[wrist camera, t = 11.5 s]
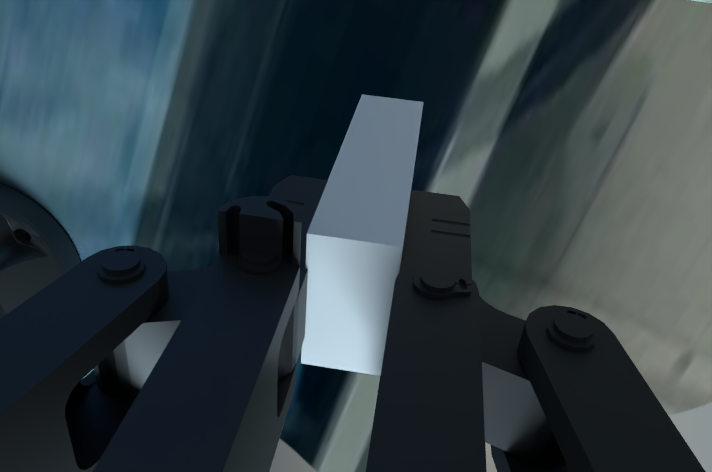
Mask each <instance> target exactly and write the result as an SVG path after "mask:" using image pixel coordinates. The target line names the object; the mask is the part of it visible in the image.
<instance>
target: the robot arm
mask: <svg viewBox="0 0 712 472" xmlns="http://www.w3.org/2000/svg"><path fill="white" fill-rule="evenodd" d="M422 108H423V102H418V101H410V100H402V99H394V98H385V97H377V96H369V95H362V96H361V99H360V101H359V104H358V106H357V109H356V111H355V114H354V116H353V119H352V121H351V124H350V126H349V129H348V131H347V134H346V136H345V139H344V141H343V144H342V146H341V149H340V151H339V154H338V156H337V159H336V161H335V164H334V166H333V169H332V171H331V174H330V177H329V179H328V180H321V179H314V178H307V177H299V176H292V175H291V176H289V177H287V178H286V179H284V180H283V181H281V182H279V183H278V184H276V185H275V186H274V188H273V190H272V192H271V193H270V195H269V197H266V196H251V197H245V198H239V199H236V200H234V201H231V202H229V203H226V204H225V205H224V206H223V207H222V208H220V209H219V210H218V228H219V250H220V255H219V257H218V259H217V261H216V262H215V264H214V266H211V267H208V268H202V269H194V270H178V271H167V265H166V261H165V260H164V258H163V257H162V255H161V254H160V253H158V252H156V251H154V250H152V249H150V248H145V247H139V246H117V247H113V248H109V249H105V250H101V251H99V252H97V253H95V254H93V255H91V256H89V257H88V258H86V259H85V260H83V261H82V262H80V259H79V256H78V254H77V252H76V250H75V248H74V246H73V244H72V242H71V241H70V239H69V238H68V236H67V235H66V233H65V232H64V231H63V229H62V228H61V227H60V226H59V225H58V223H57V222H56V221H55V220H54V219H53V218H52V217H51V216H50V215H49V214H48V213H47V212H46V211H45V210H43V209H42V208H41V207H40V206H39V205H37V204H36V203H35V202H33V201H32V200H30V199H29V198H27V197H26V196H24V195H23V194H21V193H19V192H17V191H16V190H14V189H12V188H9V187H7V186H5V185H3V184H0V472H269V471H270V467H271V464H272V461H273V458H274V454H275V451H276V447H277V444H278V441H279V438H280V434H281V431H282V428H283V425H284V421H285V418H286V415H287V411H288V408H289V405H290V401H291V398H292V395H293V391H294V388H295V383H296V363H297V360H298V356H299V353H300V350H301V347H302V356H301V363H303V364H309V365H316V366H322V367H328V368H335V369H341V370H347V371H354V372H360V373H366V374H372V375H379V376H380V383H379V389H378V396H377V402H376V409H375V415H374V422H373V428H372V435H371V441H370V448H369V454H368V461H367V467H366V472H486V451H485V442H486V443H489V444H491V452H492V457H493V460H494V463H495V466H496V469H497V472H705V470H704V469H703V468H702V466H701V464H700V463H699V462H698V460H697V458H696V457H695V455H694V454H693V452H692V451H691V449H690V448H689V446H688V445H687V443H686V442H685V440H684V439H683V437H682V436H681V434H680V433H679V431H678V430H677V428H676V427H675V425H674V424H673V422H672V421H671V419H670V418H669V416H668V415H667V413H666V412H665V410H664V409H663V407H662V406H661V404H660V403H659V401H658V400H657V398H656V397H655V395H654V393H653V392H652V390H651V389H650V387H649V386H648V384H647V383H646V381H645V380H644V378H643V377H642V375H641V374H640V372H639V371H638V369H637V368H636V366H635V365H634V363H633V362H632V360H631V359H630V357H629V356H628V354H627V353H626V351H625V350H624V348H623V347H622V345H621V344H620V342H619V341H618V339H617V338H616V336H615V335H614V333H613V332H612V331H611V330H610V329H609V328H608V327H607V326H606V325H605V324H604V323H603V322H602V321H600V320H598V319H597V318H595V317H593V316H592V315H590V314H589V313H586V312H583V311H581V310H577V309H574V308H572V307H564V306H556V305H553V306H546V307H540V308H538V309H536V310H535V311H533V312H531V313H530V314H529V316H528V318H527V320H526V321H525V320H522V319H519V318H517V317H514V316H511V315H508V314H506V313H504V312H502V311H499V310H497V309H495V308H494V307H492V306H491V305H489V304H488V303H486V302H485V301H484V300H483V299H482V298H481V297H480V296H479V291H478V288H477V286H476V283H475V282H474V281H473V280H472V272H471V239H470V210H469V208H468V207H467V206H466V205H465V203H464V202H463V201H462V199H461V198H460V197H459V196H453V195H446V194H438V193H431V192H424V191H416V190H411V186H412V179H413V172H414V165H415V158H416V151H417V144H418V137H419V130H420V123H421V116H422ZM93 368H94V370H93V371H92V372H91V373H90V374H89V375H88V376H86V375H87V374H88V373H89V372H90V371H91V370H92V369H93ZM84 376H86V377H85V378H83V377H84ZM82 378H83V379H82ZM81 379H82V380H81Z"/></svg>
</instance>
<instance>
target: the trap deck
mask: <svg viewBox="0 0 712 472" xmlns="http://www.w3.org/2000/svg"><path fill="white" fill-rule="evenodd" d="M693 1H700V2H707V3H712V0H693Z"/></svg>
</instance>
